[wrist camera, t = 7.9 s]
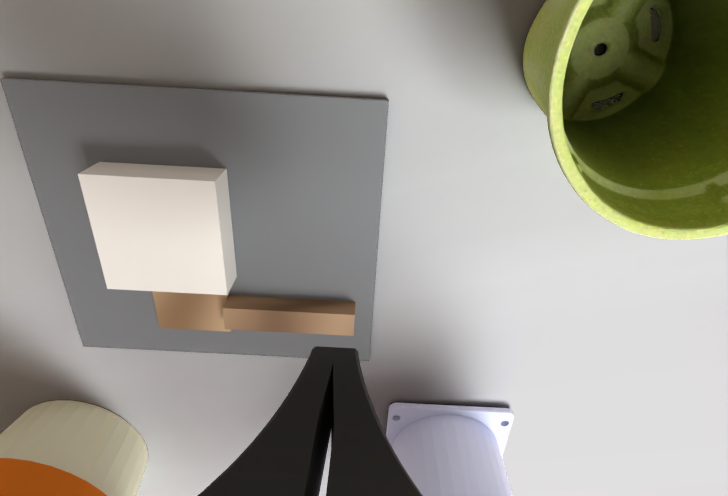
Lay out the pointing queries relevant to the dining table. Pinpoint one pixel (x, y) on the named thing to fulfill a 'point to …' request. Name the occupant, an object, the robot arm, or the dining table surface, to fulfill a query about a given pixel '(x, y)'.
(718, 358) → the dining table surface
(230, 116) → the mat
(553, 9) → the plant pot
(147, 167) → the tile
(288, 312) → the wooden plank
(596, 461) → the dining table surface
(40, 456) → the reusable coffee cup
